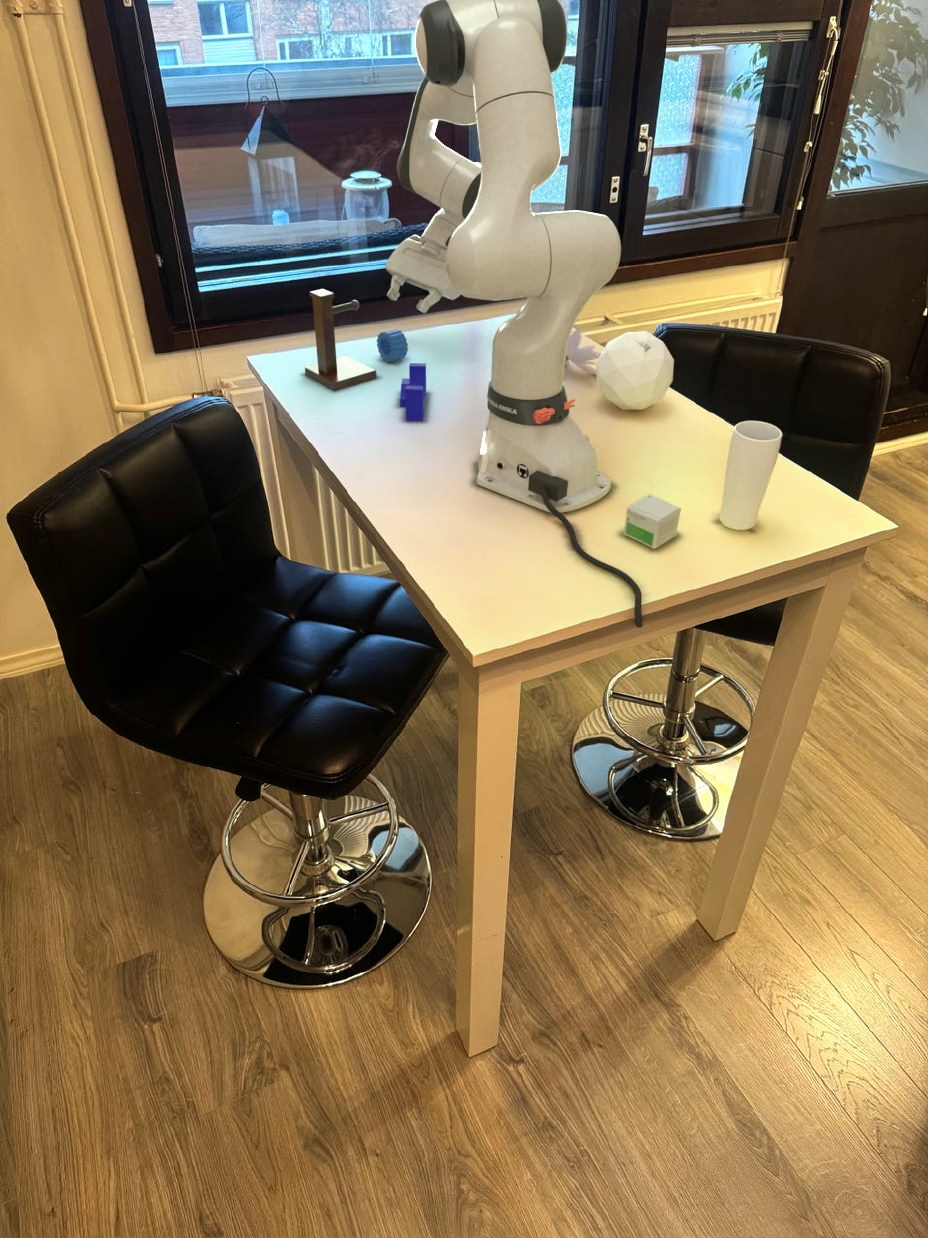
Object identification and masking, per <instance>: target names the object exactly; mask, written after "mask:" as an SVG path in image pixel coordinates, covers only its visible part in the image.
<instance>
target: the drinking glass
mask: <svg viewBox="0 0 928 1238" xmlns="http://www.w3.org/2000/svg"><path fill="white" fill-rule="evenodd" d="M782 438H783V432H782V430H781V429H780V428H778V427H777V426H776V425H774V424H772V423H768V422H764V421H760V420H744V421H740V422H738V423H737V424H735V425H734V427H733V431H732V434H731V438H730V442H729V445H728V451H727V457H726V467H725V473H724V474H725V475H724V481H723V482H724V483H723V484H724V485H723V490H722V497H721V498H722V499H721V506H720V511H719V515H718V517H719V521H720V523H721V524H722V525H723V526H725V527H726V528H728V529H731V530H736V531H747V530H750V529H752V528H753V527H754V526H755V525H756V523H757V520H758V515H759V512H760V509H761V507H762V503H763V500H764V498H765V494H766V492H767V489H768V487H769V483H770V480H771V478H772V475H773V473H774V470H775V466H776V464H777V461H778V457H779V453H780V448H781V445H782V444H781V443H782V440H783V439H782Z"/></svg>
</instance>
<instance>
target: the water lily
mask: <svg viewBox="0 0 928 1238" xmlns="http://www.w3.org/2000/svg"><path fill="white" fill-rule="evenodd" d="M581 342H582V333H581V331H580V330H579V329H576V330H574V331H573V332H571V334H570V338H569V341H568V346H567V352H566V359H565V365H567V364H569V363H570V362H571V363H572V364H573V365H575V366H577V367H578V369H580V370H583V371H585V372H587V373H588V374H590V375H593V376H594V375H595V376H596V372H597V369H595V368H594V367H592V366H590V365H597V362H594V361H593V360H598V358H599V356H600V355H601V353H602V352H601V353H600V352H599V351H594V350H595V348H596V346H594V345H585V346H582V347H580V345H581Z"/></svg>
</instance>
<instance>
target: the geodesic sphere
mask: <svg viewBox="0 0 928 1238" xmlns="http://www.w3.org/2000/svg"><path fill="white" fill-rule="evenodd" d="M674 365H675V359H674V358H673V356H672V354H671V353H670V351H669V349H668V347H667V346H666V344H665V343H664V341H662V340H661V339H659V338H658V337H656V336H655V335H653V334H652V333H650V332H649V331H648V330H643V331H641V330H640V331H635V330H632V331H626V332H624V333H623V334H621V335H619V336H617V337H615V338H613V339H611V340H610V341H607V343H606V344H605V345H604V348H603V349H602V351H601V355H600V356H599V358H598V359H596V371H597V372H596V375H595V378H596V379H595V381H596V384H597V386H598V387H599V389H600V390H601V392H602V394H603V395H604V397H605V399H606V400H608V401H609V402H611V403H612V404H614V405H615V406H616V407H618V408H619V409H621V410H622V411H628V410H629V411H641V410H645V409H646V408H649V407H650V406H652V405H655V404H656V403H658V402H660V401H662V400H663V398H664V396H665V395H666V393H667V391H668V390H669V388H670V386H671V385H672V383H673V381H674V367H675V366H674Z"/></svg>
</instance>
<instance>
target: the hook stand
mask: <svg viewBox="0 0 928 1238" xmlns="http://www.w3.org/2000/svg"><path fill="white" fill-rule="evenodd" d="M309 297H311V301H312V311H313V312H312V313H313V322H314V323H313V324H314V334H315V344H316V345H315V346H316V360H317V363H315V364H311V365H308V366H305V367H304V375H305V376H306V377H308V378H310V379H312V380H314V381H315V382H318V383H319V384H321V385H323V386H324V387H326V388H328V389H329V390H332V391H338V390H341V389H346V388H348V387H351V386H355V385H358V384H362V383H364V382H368V381H371V380H375V379H377V370H376V369H375V368H372V367H371V366H368V365H367V364H365V363H362V362H361V361H358V360H357V359H354V358H352V357H351V356H348V355H342V356H339V357H337V348H336V334H335V320H334V314H338V313H342V312H346V311H351V310H353V311H357V310H358V309H359V308H360V302H359V301H358V300H356V299H353V300H351V301H350V302H347V303H342V304H339V305H333V299H334V298H335V293H334V292H333V291H329V290H328V289H327V290H326V289H324V288H320V289H316V290H312V291H311V290H310V291H309Z"/></svg>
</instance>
